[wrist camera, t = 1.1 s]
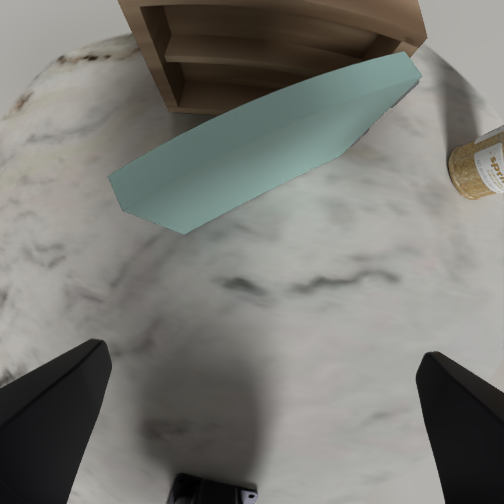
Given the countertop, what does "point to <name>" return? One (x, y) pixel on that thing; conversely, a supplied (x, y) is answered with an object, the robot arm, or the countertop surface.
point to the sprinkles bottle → (479, 166)
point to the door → (260, 144)
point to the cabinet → (261, 44)
